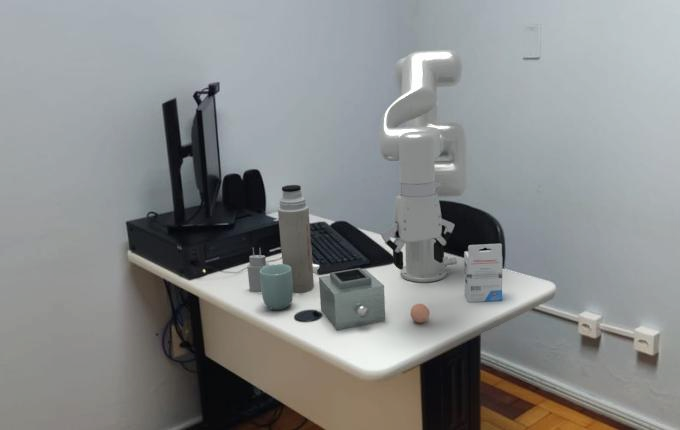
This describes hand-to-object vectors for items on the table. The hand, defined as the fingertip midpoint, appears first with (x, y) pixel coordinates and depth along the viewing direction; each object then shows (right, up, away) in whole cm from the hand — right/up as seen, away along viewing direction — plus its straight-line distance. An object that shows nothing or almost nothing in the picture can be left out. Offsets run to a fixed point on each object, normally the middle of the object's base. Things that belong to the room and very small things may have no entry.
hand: (418, 264), depth 138 cm
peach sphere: (+1, -14, +4) cm, 14 cm away
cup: (-33, -12, +17) cm, 39 cm away
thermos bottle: (-29, -9, +29) cm, 41 cm away
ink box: (+18, -10, +16) cm, 26 cm away
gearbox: (-15, -13, +10) cm, 22 cm away
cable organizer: (-29, -6, +41) cm, 50 cm away
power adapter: (-39, -9, +28) cm, 49 cm away
